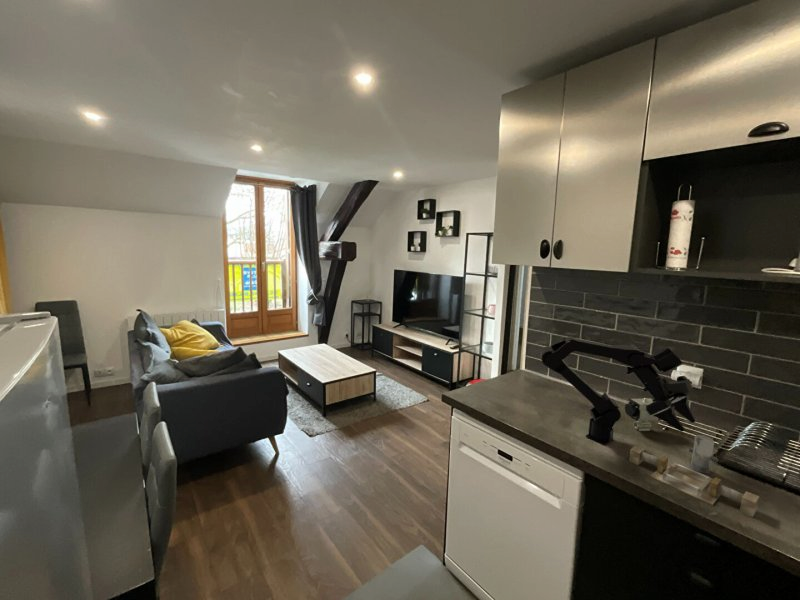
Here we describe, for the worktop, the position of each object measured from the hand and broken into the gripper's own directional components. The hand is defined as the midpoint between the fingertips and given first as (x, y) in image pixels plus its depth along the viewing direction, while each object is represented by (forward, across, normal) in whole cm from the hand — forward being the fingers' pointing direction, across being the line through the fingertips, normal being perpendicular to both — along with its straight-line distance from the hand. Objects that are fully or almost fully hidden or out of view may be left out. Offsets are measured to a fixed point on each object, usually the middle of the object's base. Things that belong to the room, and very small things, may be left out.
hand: (688, 426), depth 108 cm
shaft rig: (+11, -11, +6) cm, 17 cm away
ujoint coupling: (+11, 0, +6) cm, 13 cm away
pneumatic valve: (-2, +12, +20) cm, 23 cm away
